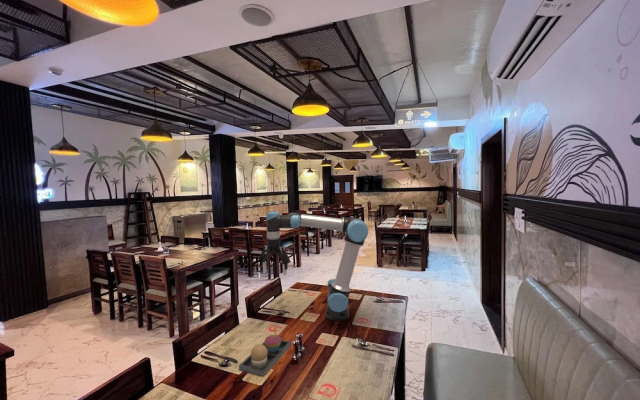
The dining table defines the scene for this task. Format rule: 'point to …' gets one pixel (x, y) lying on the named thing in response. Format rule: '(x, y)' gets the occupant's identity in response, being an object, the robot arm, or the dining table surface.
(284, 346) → the dark grey tray
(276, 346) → the cupcake
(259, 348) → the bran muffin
